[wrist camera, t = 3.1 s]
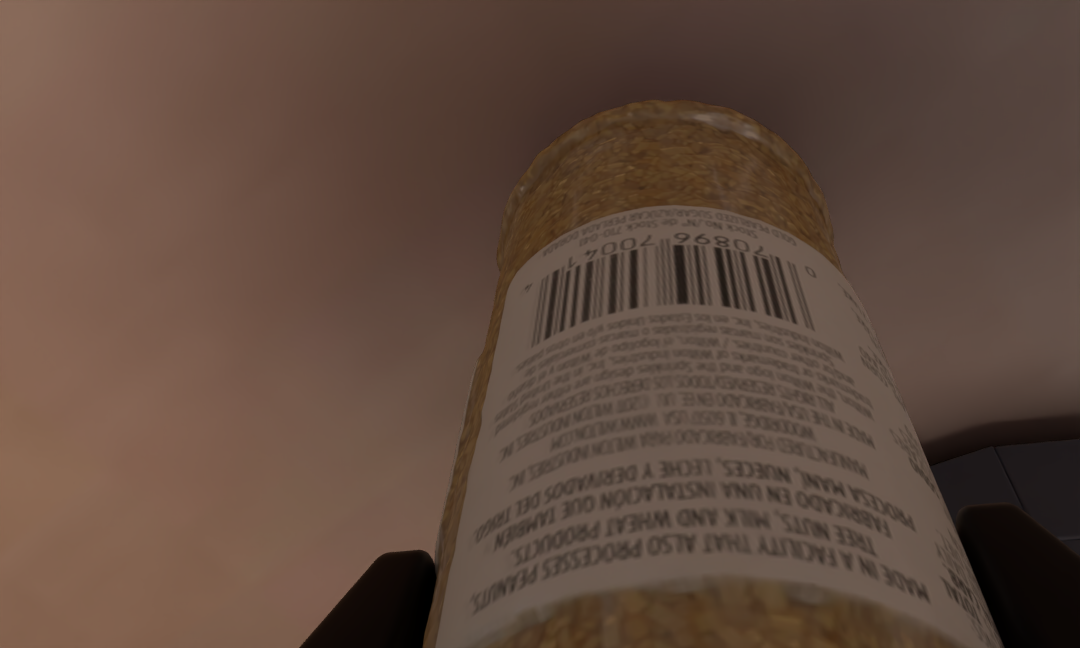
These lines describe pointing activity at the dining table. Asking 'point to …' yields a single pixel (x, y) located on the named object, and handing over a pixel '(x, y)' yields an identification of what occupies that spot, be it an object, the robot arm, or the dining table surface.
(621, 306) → the sprinkles bottle
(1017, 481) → the bowl
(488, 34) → the dining table surface
